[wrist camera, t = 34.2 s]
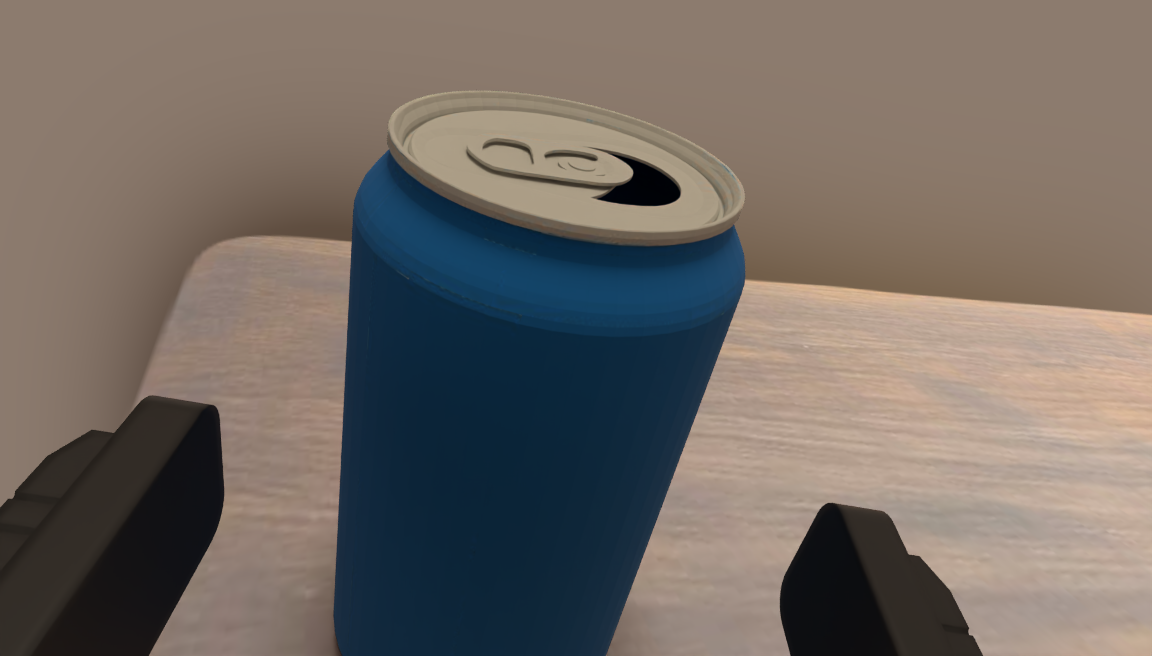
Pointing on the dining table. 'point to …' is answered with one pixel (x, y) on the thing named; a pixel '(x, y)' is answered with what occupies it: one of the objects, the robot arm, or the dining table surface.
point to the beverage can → (521, 369)
